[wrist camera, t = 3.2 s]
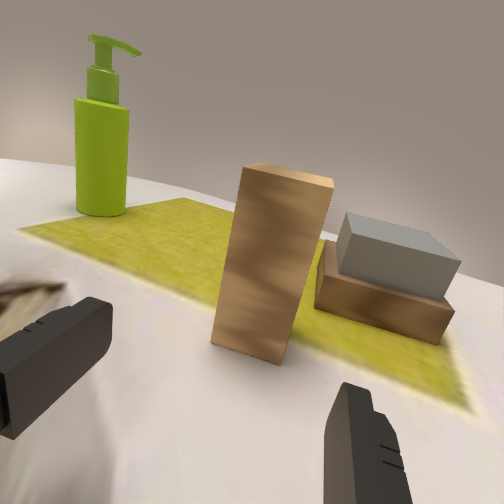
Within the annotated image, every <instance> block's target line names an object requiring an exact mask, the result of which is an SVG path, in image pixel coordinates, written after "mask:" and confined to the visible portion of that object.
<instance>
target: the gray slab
mask: <svg viewBox="0 0 504 504" xmlns="http://www.w3.org/2000/svg"><path fill="white" fill-rule="evenodd" d="M336 252H337V265H338V274H341V275H345V276H349V277H352V278H356V279H359V280H363V281H366V282H370V283H374V284H377V285H381V286H384V287H388V288H391V289H395V290H399V291H402V292H406V293H409V294H413V295H416V296H420V297H424V298H427V299H431V300H434V301H438V302H441V301H442V299H443V297H444V295H445V293H446V291H447V289H448V287H449V285H450V283H451V281H452V279H453V277H454V275H455V273H456V271H457V270H458V268H459V266H460V264H461V262H462V261H461V260H460V259H459V258H457V257H456V256H455V255H454V254H453V253H452V252H450V251H449V250H448V249H447V248H446V247H445V246H443V245H442V244H441V243H440V242H439V241H438V240H436V239H435V238H434V237H433V236H432V235H430V233H428V232H424V231H420V230H416V229H412V228H408V227H404V226H400V225H396V224H392V223H388V222H384V221H380V220H376V219H372V218H368V217H364V216H359V215H356V214H352V213H348V212H346V215H345V218H344V221H343V224H342V227H341V230H340V233H339V236H338V239H337V242H336Z"/></svg>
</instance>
